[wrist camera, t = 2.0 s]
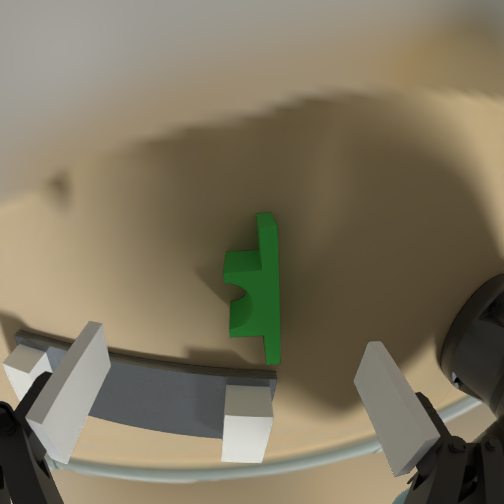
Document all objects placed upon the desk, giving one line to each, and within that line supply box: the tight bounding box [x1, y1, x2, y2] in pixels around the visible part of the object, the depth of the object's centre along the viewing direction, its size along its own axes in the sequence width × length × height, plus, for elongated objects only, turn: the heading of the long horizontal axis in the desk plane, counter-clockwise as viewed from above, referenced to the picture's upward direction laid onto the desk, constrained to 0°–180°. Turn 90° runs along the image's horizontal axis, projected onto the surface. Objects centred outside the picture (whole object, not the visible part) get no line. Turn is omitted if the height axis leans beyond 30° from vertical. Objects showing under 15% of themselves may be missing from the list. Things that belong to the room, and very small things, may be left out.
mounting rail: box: [2, 330, 277, 463], centre depth 24 cm, size 28×10×5 cm, turn 84°
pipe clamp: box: [223, 213, 281, 365], centre depth 21 cm, size 10×4×4 cm, turn 3°
